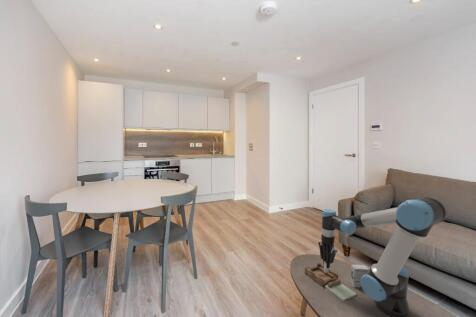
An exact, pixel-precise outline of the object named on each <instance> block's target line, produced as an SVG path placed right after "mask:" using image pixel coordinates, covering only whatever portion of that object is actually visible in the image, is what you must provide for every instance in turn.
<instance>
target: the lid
mask: <svg viewBox="0 0 476 317" xmlns="http://www.w3.org/2000/svg"><path fill="white" fill-rule="evenodd" d="M324 288H325V289H326V290H328V291H329V292H331V293H332V294H333V295H335V297H338V298H339V299H340V300H341V301H343V302H345V301H346V300H349V299H351V298H353V297H356V296H357V293H356V292H355V291H353V290H352V289H351V288H348V287H347V286H346V285H344V284H343V283H342V280H341V279H340V278H338V279H337V280H335V281H332V282H329V283H328V285H325V287H324Z"/></svg>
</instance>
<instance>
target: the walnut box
mask: <svg viewBox="0 0 476 317" xmlns="http://www.w3.org/2000/svg"><path fill="white" fill-rule="evenodd" d="M304 275H306V276H308V277H309V278H310V279H311V280H313V281H315V283H317V285H320V286H321V287H322V288H325V285H328V283H329V282H332V281H335V280H337V279H339V274H338V273H337V272H335V271H333V270H332V269H330V268H329V272H327V273H325V272H324V266H323V263H320V262H318V263H316V266H313V267H310V266H307V265H306V266H304Z"/></svg>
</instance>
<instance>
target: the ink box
mask: <svg viewBox="0 0 476 317" xmlns="http://www.w3.org/2000/svg"><path fill="white" fill-rule="evenodd" d="M369 270H370V268H368V266H367V265H364V264H363V265H362V264H351V265H350V282H349V283H350V284H351V286H352V287H353V288H361V289H362V286H361V282H360V280H361V277H362V276H363V275H365V274H367V273H368V272H369Z"/></svg>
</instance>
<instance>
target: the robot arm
mask: <svg viewBox="0 0 476 317" xmlns="http://www.w3.org/2000/svg"><path fill="white" fill-rule="evenodd" d="M447 212H448V211H447V208H446V206H445V205H444V204H443V203H442V202H441V201H440V200H439V199H436V198H432V197H428V196H427V197H420V198H416V199H408V200H405V201H403V202H402V203H401V204H399V205H398V206H397V207H391V208H388V209H386V208H385V209H381V210H377V211H371V212H366V213H361V214H360V213H359V214H355V215H351V216H346V217H341V216H339V215H337V211H336V210H333V209H330V208H327V209H323V210H322V217H321V220H322V221H321V241H319V242H317V244H318V247H319V253H320V259H322V261H323V263H322V265H323V266H324V272H325V273H327V272H329V269H330V267H331V264H333V263H334V261H335V257H336V254H337V253H338V249H336V248H335V240H336V239H335V235H336V230H337V231H339V232H341V233H344V234H347V235H354V233H355V232H356V230H358V229H364V228H371V227H373V228H374V227H379V226H388V225H396V227H395V230H394V232H393V234H392V235H391V237H390V239H389V241H388V243H387V244H386V246H385V248H384V250H383V252H382V254H381V256H380V258H379V259H378V261H377V263H373V264H372V265H371V266H370V268H369V272H368V273H367V274H365V275H363V276H362V277H361V280H360V282H361V286H362V288H361V289H362V290H363V292H364V293H365V294H366V296H367V297H368V298H370V299H371V300H373V301H374V304H375V305H376V307H377V308H378V309H379V310H380V311H381V312H383V313H385V314H386V315H388V316H391V317H410V315H411V308H410V305H409V302H408V299H407V296H408V286H409V278H410V276H409V274H410V272H409V270H407V268H406V267H404V265H405V263H406V262H407V261H408V259H409V257H410V255H411V253H412V252H413V250H414V248H415V247H416V245H417V244H418V242H419V240H420V238H421V239H422V238H426V237H427V236H428V235H429V233H430V232H431V230H432V228H433V226H435V225H438V224H440V223H443V222H444V221H445V219H446V217H447V215H448V214H447Z"/></svg>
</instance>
